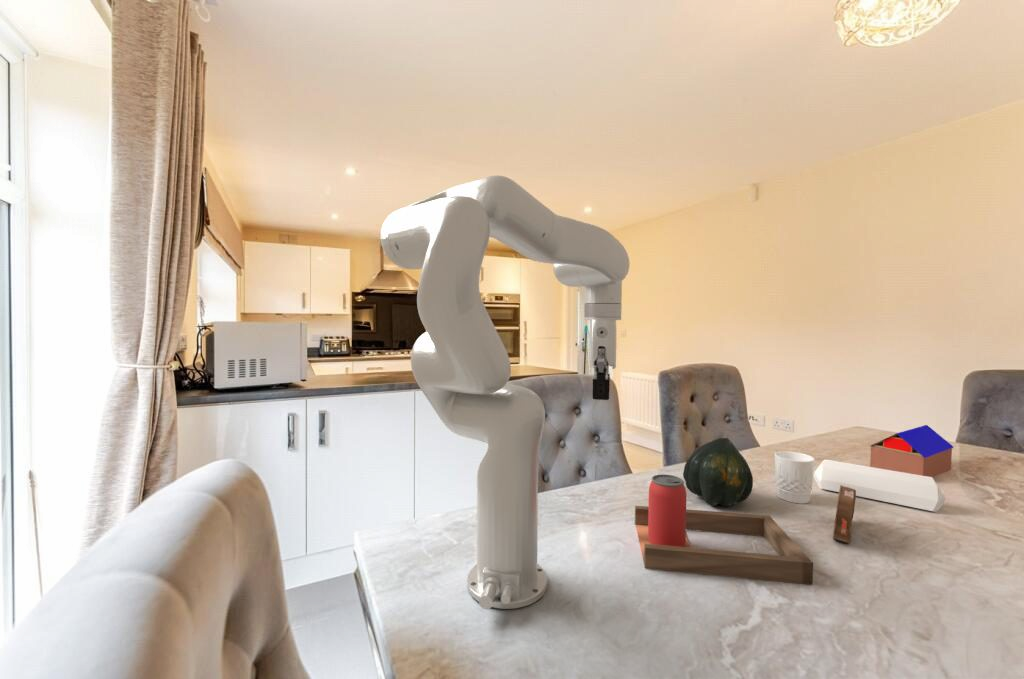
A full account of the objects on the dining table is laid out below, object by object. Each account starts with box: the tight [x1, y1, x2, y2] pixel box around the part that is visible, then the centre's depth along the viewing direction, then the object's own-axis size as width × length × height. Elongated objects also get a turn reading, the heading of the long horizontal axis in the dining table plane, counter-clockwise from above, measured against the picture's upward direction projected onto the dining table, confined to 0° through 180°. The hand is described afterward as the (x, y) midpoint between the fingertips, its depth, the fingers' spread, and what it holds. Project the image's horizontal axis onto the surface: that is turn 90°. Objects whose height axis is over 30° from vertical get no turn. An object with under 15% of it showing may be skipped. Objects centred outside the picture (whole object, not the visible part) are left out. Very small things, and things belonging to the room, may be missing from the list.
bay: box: [634, 505, 814, 586], centre depth 79 cm, size 17×26×4 cm, turn 80°
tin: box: [832, 485, 857, 544], centre depth 85 cm, size 15×3×8 cm, turn 141°
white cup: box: [774, 450, 816, 505], centre depth 102 cm, size 8×8×10 cm
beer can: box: [648, 473, 687, 547], centre depth 80 cm, size 7×7×12 cm
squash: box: [682, 437, 754, 507], centre depth 101 cm, size 14×15×15 cm
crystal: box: [813, 459, 946, 513], centre depth 103 cm, size 7×7×24 cm
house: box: [869, 424, 954, 478], centre depth 123 cm, size 12×20×12 cm, turn 119°
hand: (601, 395), depth 91 cm, fingers open, 9 cm apart
